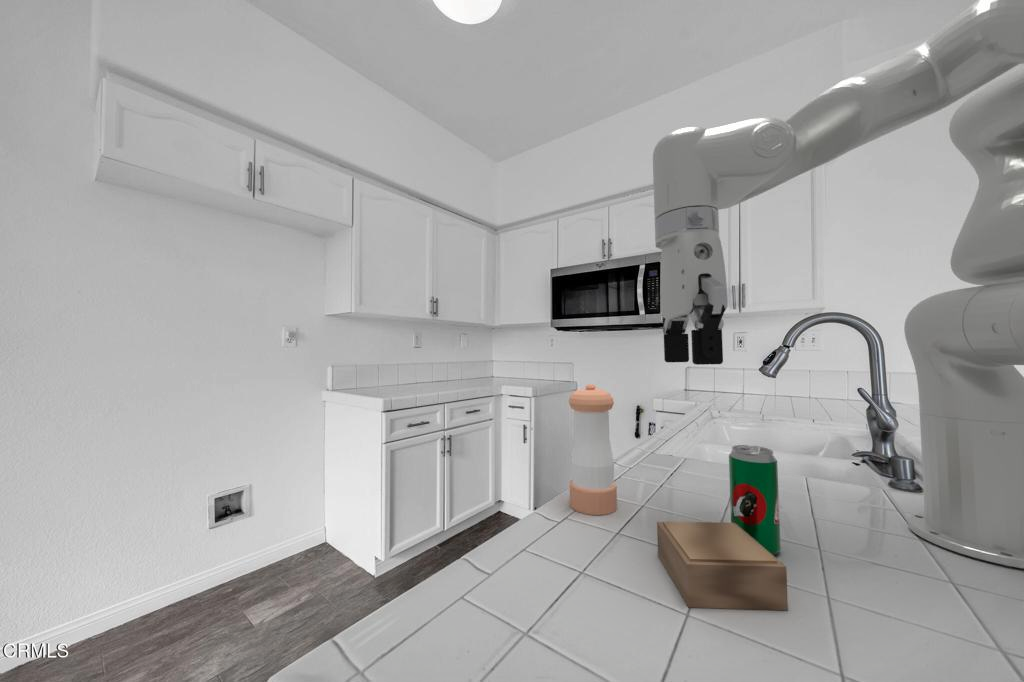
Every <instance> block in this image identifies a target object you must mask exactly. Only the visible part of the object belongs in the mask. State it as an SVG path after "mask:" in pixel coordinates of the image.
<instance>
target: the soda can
mask: <svg viewBox="0 0 1024 682" xmlns="http://www.w3.org/2000/svg"><path fill="white" fill-rule="evenodd" d="M731 449H732V450H731V451H730V453H729V454H728V470H729V471H728V472H729V473H728V475H729V498H730V499H729V500H730V502H729V504H730V506H729V507H730V523H736V524H737V525H738V526H740V527H741V528H742V529H743V530H744V531H745V532H747V533H748V534H749V535H750V536H751V537H752V538H754V539H755V540H756V541H757V542H758V543H759V544H760V545H762V546H763V547H764V548H765V549H766V550H767V551H769V552H770V553H771V554H772V555H773V556H775V555H777V554H778V553H779V552H780V551H781V548H782V547H781V525H780V500H779V499H780V498H779V473H778V470H779V469H778V460H777V458H776V457H775V455H774V451H773V450H772V449H769V448H767V447H763V446H758V445H752V444H751V445H749V444H738V445H733V446H732V447H731Z"/></svg>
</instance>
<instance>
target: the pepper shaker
mask: <svg viewBox="0 0 1024 682" xmlns="http://www.w3.org/2000/svg"><path fill="white" fill-rule="evenodd" d="M610 393H611V392H610ZM610 393H609V392H607V391H606V390H604V389H598V388H597V386H596V385H595V384H594V383H593V384H592V383H589V384H586V386H585V389H583V388H582V389H578V390H575V391H574V392H572V393H571V395H570V396H569V400H568V403H569V407H570V409H571V410H573V429H574V431H573V434H574V435H573V444H572V450H571V458H570V459H571V460H570V461H571V462H570V463H571V480H570V481H569V505H570V507H571V509H572V510H574V511H576V512H577V513H581V514H584V515H589V516H603V515H604V516H605V515H611V514H612V513H615V511H617V508H618V499H617V496H618V494H617V493H618V492H617V487H618V486H617V484H616V482H615V461H614V460H615V459H614V456H613V450H612V444H611V439H610V438H611V437H610V414H609V413H610V412H609V411H611V410H612V409H613V407H614V403H615V402H614V398H613V396H612V395H611V394H610Z"/></svg>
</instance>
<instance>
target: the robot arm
mask: <svg viewBox="0 0 1024 682" xmlns="http://www.w3.org/2000/svg"><path fill="white" fill-rule="evenodd" d="M1019 65H1020V66H1019ZM1016 66H1018V67H1016ZM1015 67H1016V68H1015ZM1014 68H1015V69H1014ZM1012 69H1013V70H1012ZM1010 70H1012V71H1010ZM1008 71H1009V72H1008ZM1005 73H1006V74H1005ZM1000 76H1001V77H1000ZM998 77H999V78H998ZM996 78H997V79H996ZM991 81H992V82H991ZM990 82H991V83H990ZM988 83H989V84H988ZM986 84H987V85H986ZM984 85H986V86H984ZM982 86H984V87H983V88H981V87H982ZM979 88H981V89H980V90H978V89H979ZM976 90H978V91H977V92H975V91H976ZM972 92H975V93H974V94H973V95H971V96H970V97H968V98H967V99H966V100H965V101H964V102H963V103H962V104H961V105H959V107H958V108H957V109H956V111H954V113H953V115H952V116H951V119H950V122H949V126H948V127H949V128H948V132H949V137H950V138H949V139H950V141H951V142H952V144H953V146H955V147H956V149H957V150H958V151H959V152H960V153H961V154H962V156H964V158H965V159H966V160H967V162H969V164H970V165H971V167H972V168H973V169H974V171H975V173H976V175H977V178H978V187H977V190H976V194H975V196H974V199H973V202H972V204H971V206H970V208H969V211H968V212H967V215H966V217H965V220H964V222H963V224H962V226H961V228H960V231H959V234H958V235H957V238H956V240H955V243H954V244H953V245H954V246H953V248H952V251H951V256H950V263H949V264H950V268H951V270H952V271H951V272H952V273H953V274H954V276H956V278H958V279H959V280H960V281H962V282H965V283H968V284H972V285H977V286H972V287H965V288H959V289H958V288H957V289H954V290H949V291H948V290H947V291H945V292H941V293H937V294H934V295H931V296H929V297H927V298H925V299H924V300H923V299H922V300H921V301H920V302H918V303H917V304H916V305H915V306H913V307H912V309H910V311H909V312H908V313H907V316H906V318H905V321H904V327H903V328H904V329H903V330H904V337H905V342H906V344H907V348H908V350H909V352H910V356H911V359H912V361H913V364H914V370H915V375H916V381H917V383H916V384H917V390H918V403H919V404H918V406H919V426H920V428H919V429H920V447H921V464H922V465H921V466H922V467H921V468H922V484H923V487H922V488H923V489H922V490H923V503H924V504H923V505H924V507H923V508H924V512H919V513H914V514H911V515H909V516H908V518H907V525H908V528H909V529H910V531H912V532H913V533H914V534H915V535H917V536H919V537H921V539H924V540H925V541H928V542H930V543H931V544H935V545H937V546H939V547H941V548H944V549H947V550H949V551H952V552H954V553H957V554H960V555H964V556H968V557H971V558H974V559H977V560H981V561H984V562H989V563H992V564H993V563H994V564H997V565H1000V566H1001V565H1002V566H1005V567H1006V566H1007V567H1010V568H1011V567H1013V568H1017V569H1023V570H1024V376H1023V374H1022V373H1020V371H1019V370H1018V369H1017V368H1016V367H1015V366H1024V0H976V1H975V2H973V3H972V4H971V5H970V6H968V7H967V8H966V9H964V10H963V11H962V12H961V13H960V14H958V15H957V16H956V17H955V18H953V19H952V20H950V21H949V22H948V23H947V24H946V25H944V26H943V27H941V28H940V29H939V30H938V31H936V32H935V33H934V34H933V35H931V36H930V37H928V38H927V39H925V40H924V41H923V42H922V43H920V44H918V45H917V46H915V47H914V48H912V49H910V50H908V51H905V52H903V53H901V54H899V55H897V56H894V57H892V58H891V59H888V60H887V61H884V62H882V63H880V64H877V65H874V66H873V67H870V68H868V69H867V70H864V71H862V72H859V73H857V74H855V75H853V76H850V77H847V78H845V79H844V80H840V81H839V82H837V83H836V84H833V85H832V86H830V87H829V88H827V89H826V90H824V91H823V92H822V93H820V94H818V95H817V96H816V97H814V98H813V99H811V100H810V101H809V102H808V103H806V104H805V105H804V106H802V107H801V108H800V109H799V110H797V111H796V112H795V113H793V114H792V115H791V116H790V117H789V118H787V119H786V120H783V119H780V118H777V117H770V116H767V117H765V116H764V117H763V116H761V117H760V116H759V117H754V118H750V119H745V120H741V121H735V122H733V123H728V124H725V125H724V124H723V125H720V126H715V127H710V128H705V127H701V126H688V127H687V126H686V127H682V128H678V129H676V130H673V131H671V132H669V133H668V134H666V135H664V136H663V137H662V138H661V139H659V140H658V142H657V143H656V145H655V147H654V149H653V153H652V175H653V176H652V177H653V178H652V180H653V181H652V182H653V206H654V240H655V244H654V245H655V248H657V249H659V250H661V253H660V254H661V255H660V256H661V257H660V280H659V281H660V282H659V284H660V286H659V287H660V288H659V289H660V291H659V292H660V294H659V295H660V310H661V316H662V317H663V318H662V323H663V327H662V334H663V351H664V352H663V353H664V362H665V363H688V362H689V361H690V352H689V351H690V349H689V345H690V344H689V343H690V342H689V333H686V331H687V326H688V322H689V319H691V322H692V324H693V327H694V329H692V330H691V331H690V332H691V354H692V355H691V357H692V358H691V359H692V360H691V362H692V363H693V364H694V365H696V366H697V365H701V366H702V365H721V364H723V363H724V352H723V351H724V349H723V328H724V327H725V326H724V325H725V322H724V320H723V316H724V314H725V312H726V310H727V309H728V306H729V302H728V301H729V300H728V287H727V286H728V285H727V275H726V265H725V259H724V258H725V257H724V253H723V245H722V241H721V237H720V219H719V217H720V216H719V210H726V209H730V208H732V207H734V206H736V205H739V204H741V203H743V202H746V201H749V200H750V199H752V198H754V197H757V196H759V195H761V194H764V193H766V192H768V191H769V190H772V189H774V188H776V187H779V186H780V185H782V184H784V183H786V182H788V181H790V180H792V179H794V178H796V177H798V176H800V175H803V174H806V173H807V172H809V171H811V170H814V169H816V168H819V167H820V166H822V165H825V164H828V163H829V162H831V161H833V160H835V159H837V158H839V157H841V156H843V155H845V154H846V153H847V154H848V153H849V152H851V151H853V150H855V149H857V148H859V147H861V146H864V145H865V144H867V143H869V142H872V141H874V140H877V139H879V138H881V137H883V136H886V135H888V134H890V133H892V132H894V131H896V130H899V129H901V128H903V127H907V126H908V125H910V124H913V123H914V122H918V121H919V120H922V119H923V118H927V117H929V116H930V115H933V114H935V113H938V112H939V111H941V110H943V109H945V108H947V107H949V106H951V105H952V104H954V103H955V102H957V101H959V100H961V99H963V98H964V97H966V96H967V95H970V94H971V93H972Z"/></svg>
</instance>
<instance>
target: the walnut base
mask: <svg viewBox="0 0 1024 682" xmlns="http://www.w3.org/2000/svg"><path fill="white" fill-rule="evenodd" d="M656 528H657V529H656V533H657V556H658V559H659V560H660V561H661V564H662V565H663V567H664V568H665V570H666V573H667V574H668V575H669V577H670V579H671V580H672V582H673V583H674V585H675V587H676V588H677V591H678V592H679V594H680V596H681V597H682V599H683V601H684V602H685V604H686V607H688V608H694V609H695V608H696V609H697V608H699V609H701V608H702V609H724V610H725V609H729V610H731V609H733V610H756V611H757V610H760V611H761V610H762V611H789V606H788V605H789V604H788V581H787V580H788V576H787V575H788V573H787V571H788V570H787V566H786V565H785V564H784V563H782V561H780V560H779V559H778V558H777V557H776V556H775V555H772V554H771V553H770V552H769V551H767V550H766V549H765V548H764V547H763V546H762V545H760V544H759V543H758V542H757V541H756V540H755V539H754V538H752V537H751V536H750V535H749V534H748V533H747V532H745V531H744V530H743V529H742V528H741V527H740V526H738V525H737V524H736V523H731V522H721V521H720V522H714V521H713V522H711V521H710V522H708V521H706V522H705V521H656Z"/></svg>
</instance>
